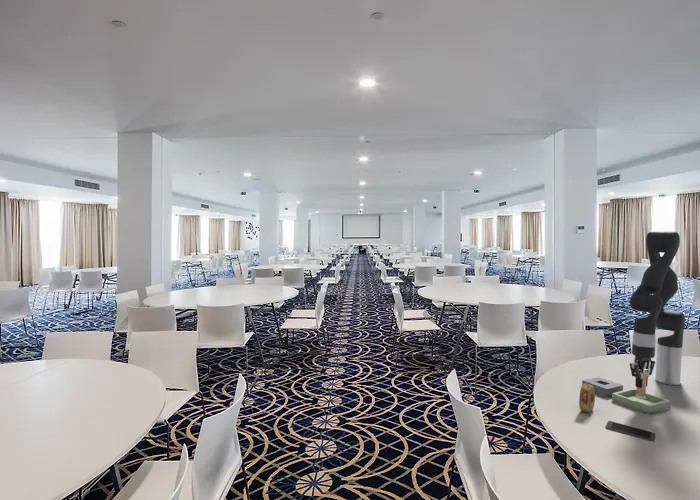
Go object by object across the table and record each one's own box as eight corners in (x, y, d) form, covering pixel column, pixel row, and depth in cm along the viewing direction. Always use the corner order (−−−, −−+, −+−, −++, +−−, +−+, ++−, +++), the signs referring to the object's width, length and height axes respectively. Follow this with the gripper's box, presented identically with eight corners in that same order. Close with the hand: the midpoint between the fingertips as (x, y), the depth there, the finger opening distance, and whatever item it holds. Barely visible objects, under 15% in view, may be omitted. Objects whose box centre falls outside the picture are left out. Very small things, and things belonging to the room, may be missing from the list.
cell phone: (608, 422, 151) (608, 420, 151) (655, 434, 142) (655, 432, 142) (604, 429, 145) (604, 427, 145) (654, 443, 137) (654, 440, 137)
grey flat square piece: (597, 384, 188) (598, 376, 188) (622, 393, 178) (623, 385, 178) (581, 388, 183) (582, 380, 183) (606, 397, 174) (607, 389, 173)
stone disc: (587, 416, 155) (589, 389, 154) (576, 412, 158) (578, 386, 157) (596, 408, 162) (597, 383, 162) (585, 405, 165) (587, 380, 164)
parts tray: (632, 395, 176) (632, 388, 176) (669, 408, 164) (670, 400, 164) (611, 400, 170) (612, 393, 170) (649, 414, 158) (649, 406, 158)
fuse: (638, 395, 169) (640, 368, 169) (647, 398, 166) (648, 371, 166) (634, 396, 168) (635, 369, 167) (642, 399, 165) (644, 372, 164)
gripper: (643, 340, 172) (641, 381, 173) (623, 343, 166) (620, 386, 167) (664, 344, 166) (661, 387, 166) (643, 348, 159) (641, 392, 160)
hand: (641, 386), depth 167 cm, fingers closed on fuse, 3 cm apart
